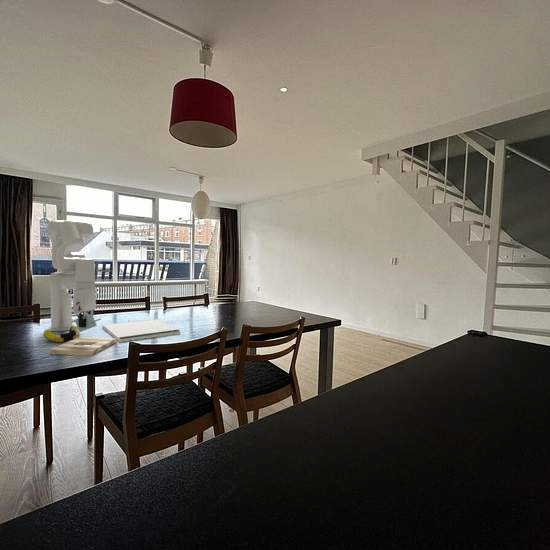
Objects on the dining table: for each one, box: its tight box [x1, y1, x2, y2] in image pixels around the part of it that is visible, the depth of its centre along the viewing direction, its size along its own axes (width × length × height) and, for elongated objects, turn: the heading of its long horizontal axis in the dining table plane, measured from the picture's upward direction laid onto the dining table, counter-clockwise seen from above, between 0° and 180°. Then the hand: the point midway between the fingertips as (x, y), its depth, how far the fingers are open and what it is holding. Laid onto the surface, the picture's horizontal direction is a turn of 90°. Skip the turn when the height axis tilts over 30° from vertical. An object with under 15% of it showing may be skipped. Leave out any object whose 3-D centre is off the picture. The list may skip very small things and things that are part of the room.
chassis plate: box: [49, 336, 118, 357], centre depth 145 cm, size 20×18×2 cm
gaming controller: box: [42, 325, 81, 343], centre depth 156 cm, size 15×6×10 cm
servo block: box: [71, 313, 102, 333], centre depth 144 cm, size 4×12×7 cm, turn 88°
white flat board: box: [101, 318, 181, 343], centre depth 178 cm, size 35×2×31 cm
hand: (85, 325), depth 144 cm, fingers closed on servo block, 3 cm apart
